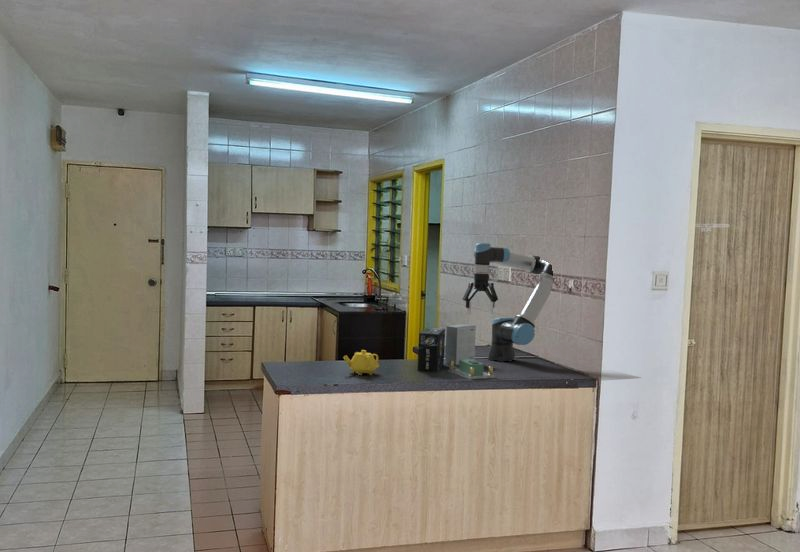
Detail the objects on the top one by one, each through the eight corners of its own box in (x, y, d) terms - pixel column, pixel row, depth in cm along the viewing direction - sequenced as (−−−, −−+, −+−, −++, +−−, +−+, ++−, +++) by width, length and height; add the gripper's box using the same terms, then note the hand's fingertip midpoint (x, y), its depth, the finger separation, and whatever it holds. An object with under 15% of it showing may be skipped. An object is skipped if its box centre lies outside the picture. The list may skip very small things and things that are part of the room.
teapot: (355, 369, 350) (355, 346, 350) (381, 372, 345) (382, 349, 345) (341, 374, 337) (342, 350, 336) (368, 377, 332) (369, 353, 331)
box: (437, 372, 353) (439, 333, 352) (417, 371, 355) (418, 332, 354) (444, 365, 375) (445, 328, 374) (425, 363, 377) (426, 327, 376)
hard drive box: (463, 361, 390) (465, 323, 389) (474, 363, 385) (476, 325, 384) (444, 363, 379) (446, 325, 378) (455, 365, 374) (457, 327, 373)
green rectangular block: (472, 369, 358) (472, 358, 358) (483, 374, 345) (483, 363, 345) (458, 369, 356) (459, 358, 356) (469, 374, 343) (470, 363, 343)
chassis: (470, 370, 363) (471, 359, 362) (493, 377, 345) (494, 366, 345) (448, 371, 357) (448, 360, 356) (470, 379, 339) (471, 368, 339)
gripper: (497, 273, 383) (495, 313, 384) (457, 272, 372) (455, 313, 373) (506, 273, 376) (504, 314, 377) (465, 273, 365) (463, 315, 366)
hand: (479, 314), depth 375 cm, fingers open, 13 cm apart
